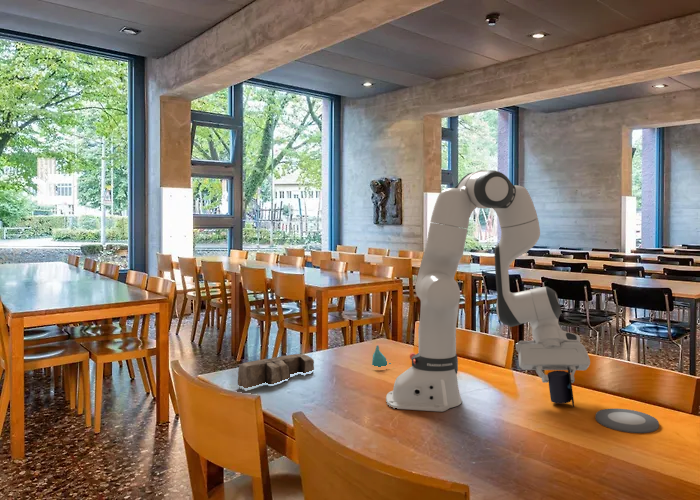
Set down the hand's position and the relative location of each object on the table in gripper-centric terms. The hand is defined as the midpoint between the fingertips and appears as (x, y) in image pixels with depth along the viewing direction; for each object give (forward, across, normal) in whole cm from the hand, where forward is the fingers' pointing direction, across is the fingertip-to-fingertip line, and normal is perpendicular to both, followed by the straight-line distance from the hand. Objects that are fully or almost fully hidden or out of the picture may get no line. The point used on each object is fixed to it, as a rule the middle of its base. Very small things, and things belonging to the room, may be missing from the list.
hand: (558, 381), depth 162 cm
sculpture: (-12, -86, +24) cm, 90 cm away
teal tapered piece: (-26, -49, +37) cm, 66 cm away
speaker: (+5, 0, +4) cm, 6 cm away
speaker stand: (+14, +13, -5) cm, 20 cm away
